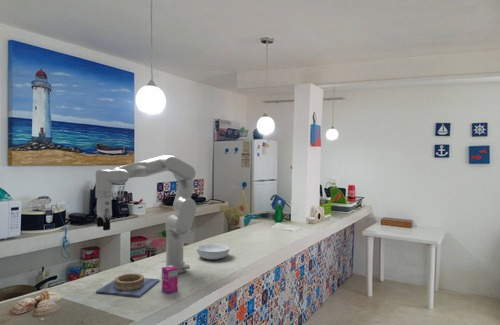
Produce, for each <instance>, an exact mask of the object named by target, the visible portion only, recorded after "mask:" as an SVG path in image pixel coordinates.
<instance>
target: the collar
mask: <svg viewBox="0 0 500 325" xmlns="http://www.w3.org/2000/svg"><path fill="white" fill-rule="evenodd" d="M160 281H161V280H160V278H159V279H158V278H149V277H148V278H147V277H145V276H144V275H143V274H141V273H134V272H133V273H131V272H130V273H124V274H121V275H118V276H116V277H114V279H113V280H112V281H110V282H109V283H107V284H105V285H104V286H102V287H101V288H98V289H97V290H96V291H95V293H96V294H102V295H108V296H110V295H111V296H120V297H130V298H141V297H142V296H144V295H145V294H146V293H147V292H149V291H150V290H151V289H152V288H153V287H154V286H156V285H157V284H159V283H160Z"/></svg>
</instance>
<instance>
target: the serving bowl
mask: <svg viewBox="0 0 500 325" xmlns="http://www.w3.org/2000/svg"><path fill="white" fill-rule="evenodd" d="M196 252H197V254H198V256H200V258H203V259H206V260H210V261H216V260H219V259H223V258H225V257H226V256H228V254H229V252H230V246H228V245H226V244H223V243H222V244H221V243H204V244H198V246H196Z"/></svg>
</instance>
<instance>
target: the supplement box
mask: <svg viewBox="0 0 500 325" xmlns="http://www.w3.org/2000/svg"><path fill="white" fill-rule="evenodd" d="M178 276H179V273H178V268H176V267H174V266H172V265H170V266H166V265H165V266H163V267H161V291H162V292H164V293H165V294H167V295H169V294H171V293H176V292H178V287H179V286H178V284H179V283H178Z"/></svg>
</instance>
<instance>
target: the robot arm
mask: <svg viewBox="0 0 500 325" xmlns="http://www.w3.org/2000/svg"><path fill="white" fill-rule="evenodd" d="M164 172H170V173H172V174H173V176H174V178H175V179H176V181H177V190H176V193H175V197H174V200H173V204H172V209H173V211H174V212H176V213H178V214H170V215H169V216H168V217H167V218H166V220H165V228H164V229H165V236H166V237H165V238H166V244H165V245H166V247H165V248H166V250H165V252H166V253H165V254H166V255H165V256H166V257H165V267H166V266H170V265H172V266H174V267H176V268H178V274H182V273H185V272H186V270H190V269H191V266H190V264H186V262H185V261H184V243H185V242H184V241H185V239H184V236H185V235H186V234H188V233H189V232H190V230H191V228H192V227H193V222H194V219H195V216H196V212H197V203H196V201H195V200H194V199H193V198H192V195H193V194H192V193H193V189H194V184H193V181H192V180H193V179H195V177H196V173H197V172H196V170H195V168H194V167H193V166H192V165H191V164H189V163H187V162H186V161H183V160H181V159H180V158H178V157H176V156H175V155H160V156H156V157H153V158H149V159H146V160H142V161H136V162H133V163H129V164H124V165H122V166H118V167H114V168H112V169H97V170H95V198H96V215H97V216H96V227H97V228H101V227H102V231H110V230H111V218H112V216H113V208H112V207H113V206H112V195H113V190H112V189H113V187H112V186H113V185H112V184H116V185H117V184H118V185H123V184H126V183H127V182H128V181H129V179H132V178H145V177H150V176H153V175H156V174H160V173H164Z"/></svg>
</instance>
